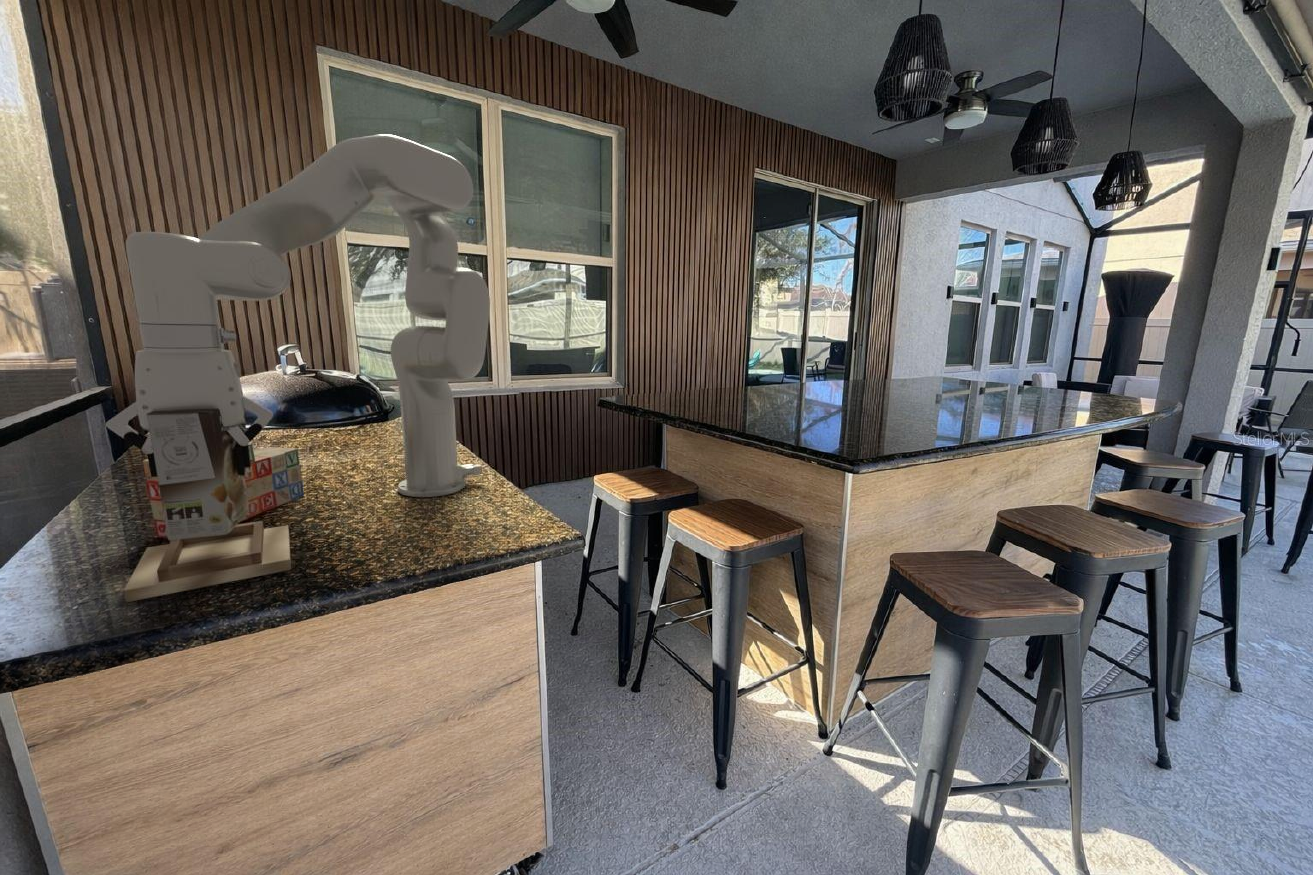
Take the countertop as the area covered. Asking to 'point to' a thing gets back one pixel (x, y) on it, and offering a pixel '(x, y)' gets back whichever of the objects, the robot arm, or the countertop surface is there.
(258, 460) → the stack of blocks
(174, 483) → the coffee box
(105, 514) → the countertop surface
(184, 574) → the base board
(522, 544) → the countertop surface
